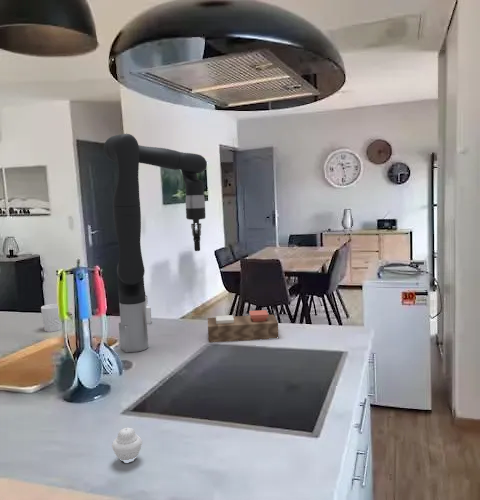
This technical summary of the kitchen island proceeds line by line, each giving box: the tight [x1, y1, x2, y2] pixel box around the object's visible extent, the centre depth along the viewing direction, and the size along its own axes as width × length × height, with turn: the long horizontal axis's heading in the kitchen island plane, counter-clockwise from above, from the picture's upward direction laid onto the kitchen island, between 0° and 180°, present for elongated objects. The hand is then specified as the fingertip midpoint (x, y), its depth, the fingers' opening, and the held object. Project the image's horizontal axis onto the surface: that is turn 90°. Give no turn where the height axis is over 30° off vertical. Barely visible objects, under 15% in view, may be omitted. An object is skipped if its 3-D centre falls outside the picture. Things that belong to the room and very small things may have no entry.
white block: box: [215, 314, 234, 324], centre depth 182 cm, size 7×7×6 cm
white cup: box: [40, 303, 62, 333], centre depth 198 cm, size 8×8×10 cm
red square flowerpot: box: [248, 309, 269, 322], centre depth 183 cm, size 7×7×6 cm
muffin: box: [111, 427, 143, 460], centre depth 101 cm, size 6×6×7 cm
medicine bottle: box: [145, 294, 153, 325], centre depth 204 cm, size 7×7×12 cm
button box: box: [207, 314, 279, 343], centre depth 182 cm, size 26×12×6 cm, turn 94°
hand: (197, 250), depth 189 cm, fingers closed
